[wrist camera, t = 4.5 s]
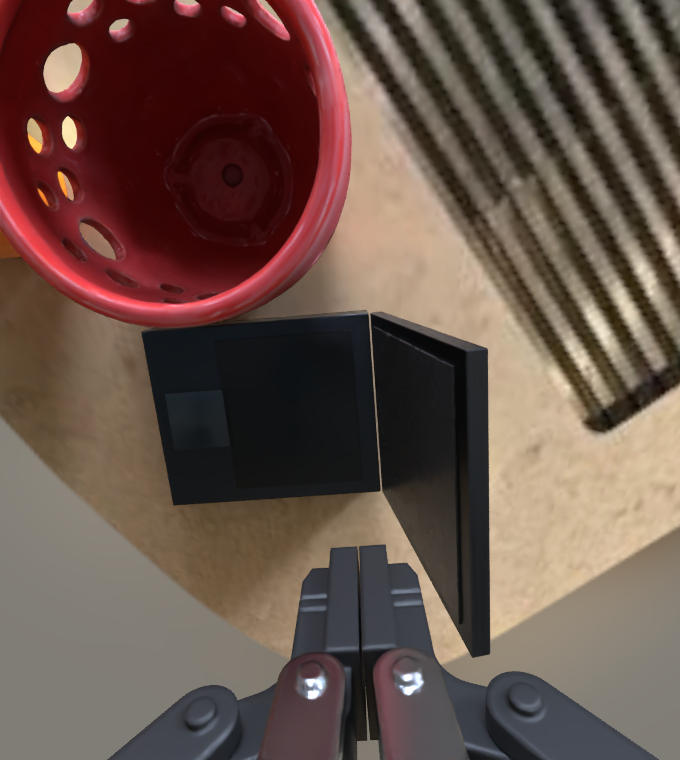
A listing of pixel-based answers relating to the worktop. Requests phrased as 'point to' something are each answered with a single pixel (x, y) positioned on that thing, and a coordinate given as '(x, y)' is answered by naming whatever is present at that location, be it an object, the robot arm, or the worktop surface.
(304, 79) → the flower pot
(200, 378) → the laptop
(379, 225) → the worktop surface
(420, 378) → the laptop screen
